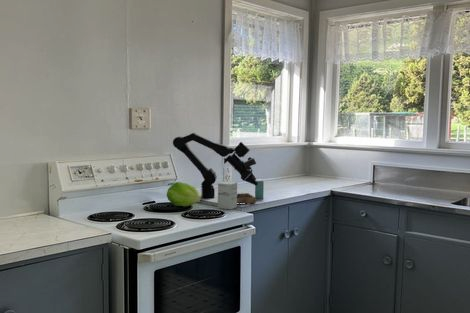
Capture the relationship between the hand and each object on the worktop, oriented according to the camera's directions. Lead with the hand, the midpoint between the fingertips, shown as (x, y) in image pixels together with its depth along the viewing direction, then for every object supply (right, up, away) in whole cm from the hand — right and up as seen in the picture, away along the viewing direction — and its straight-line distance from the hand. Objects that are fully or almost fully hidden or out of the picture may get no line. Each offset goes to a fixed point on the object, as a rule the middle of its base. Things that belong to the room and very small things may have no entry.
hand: (257, 183), depth 255 cm
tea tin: (+1, -8, +1) cm, 8 cm away
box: (-9, -9, -9) cm, 16 cm away
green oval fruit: (-37, -11, -23) cm, 45 cm away
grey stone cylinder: (-16, -11, -24) cm, 30 cm away
